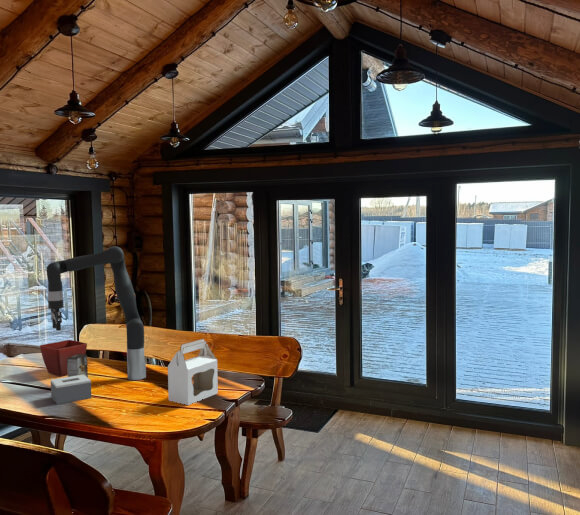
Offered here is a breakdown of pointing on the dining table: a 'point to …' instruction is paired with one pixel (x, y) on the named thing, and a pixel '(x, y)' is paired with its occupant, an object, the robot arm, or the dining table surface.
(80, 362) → the coffee box
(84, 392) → the box
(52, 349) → the plant pot
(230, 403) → the dining table surface
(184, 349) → the gable box
